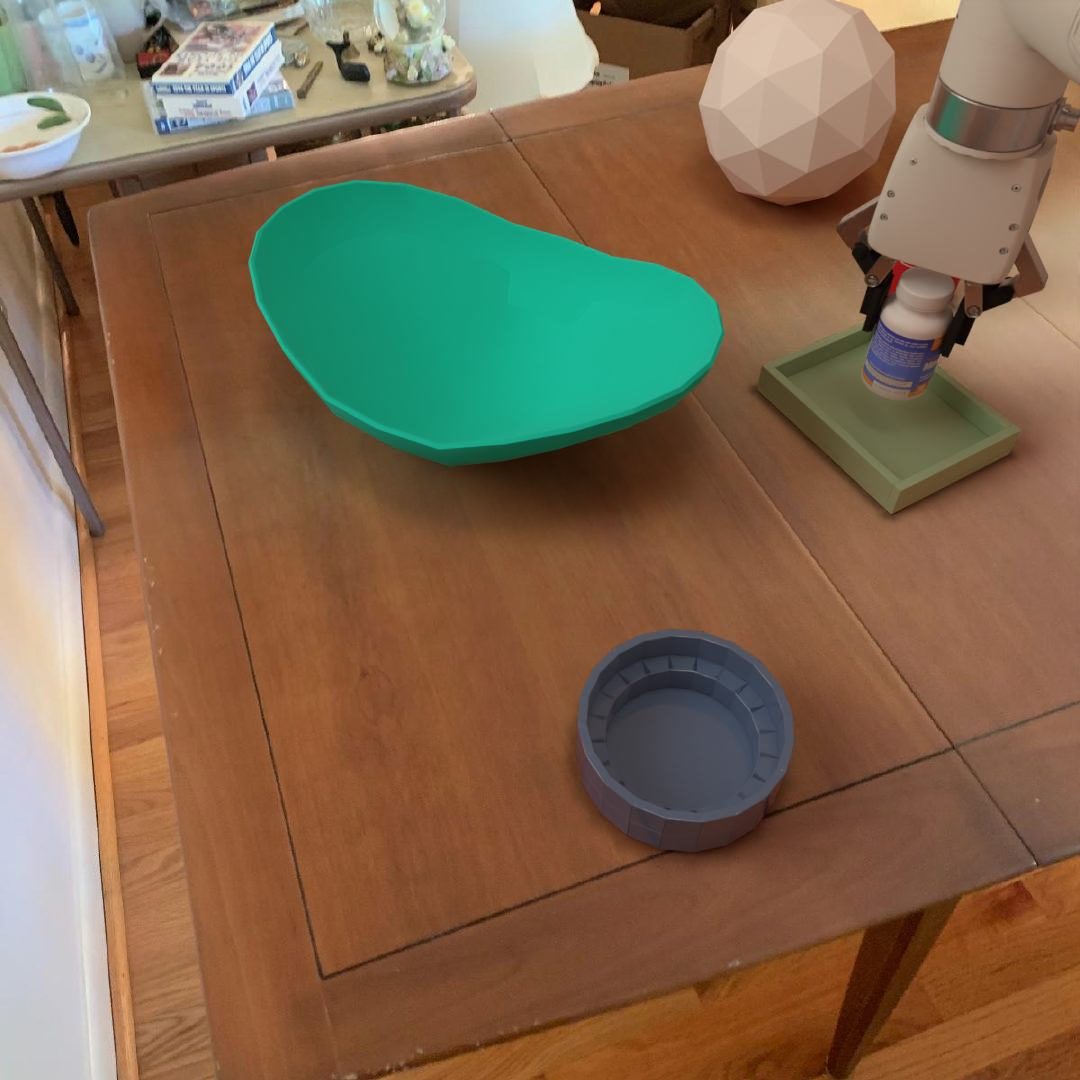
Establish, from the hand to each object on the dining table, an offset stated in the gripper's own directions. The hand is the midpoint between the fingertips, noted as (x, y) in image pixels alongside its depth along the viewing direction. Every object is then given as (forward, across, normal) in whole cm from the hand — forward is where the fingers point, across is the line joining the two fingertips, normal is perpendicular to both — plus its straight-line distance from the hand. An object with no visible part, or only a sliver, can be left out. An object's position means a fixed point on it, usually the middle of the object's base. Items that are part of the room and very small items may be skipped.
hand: (910, 332), depth 76 cm
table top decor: (+10, +30, +15) cm, 35 cm away
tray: (+9, 0, 0) cm, 9 cm away
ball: (+10, +21, -30) cm, 38 cm away
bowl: (+9, +2, +37) cm, 38 cm away
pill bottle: (+5, 0, 0) cm, 5 cm away
